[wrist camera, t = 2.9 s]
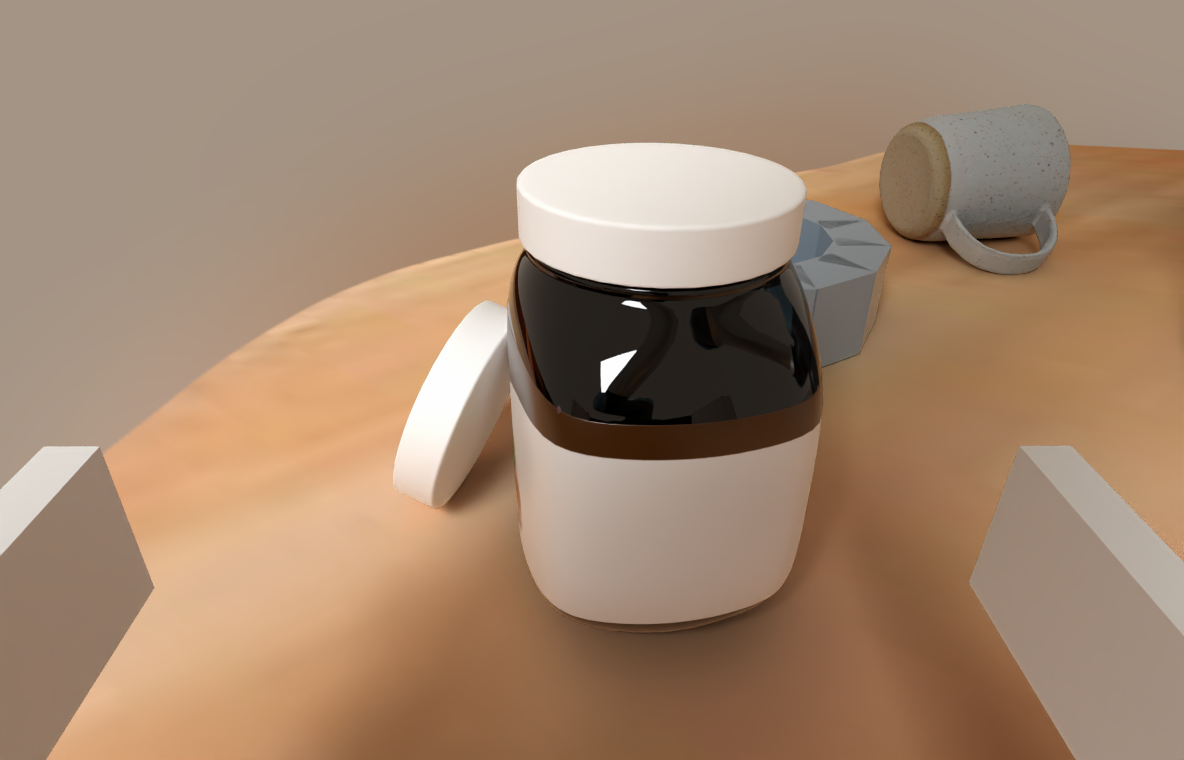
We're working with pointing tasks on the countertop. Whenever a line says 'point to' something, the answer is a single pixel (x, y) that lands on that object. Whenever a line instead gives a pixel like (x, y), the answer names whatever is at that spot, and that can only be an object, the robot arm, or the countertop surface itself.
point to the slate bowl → (840, 277)
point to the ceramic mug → (979, 182)
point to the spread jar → (641, 385)
